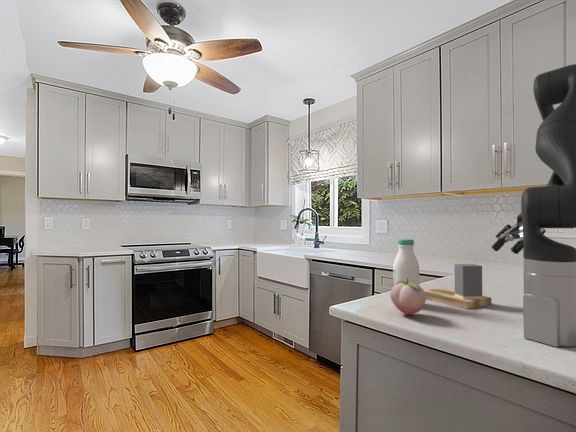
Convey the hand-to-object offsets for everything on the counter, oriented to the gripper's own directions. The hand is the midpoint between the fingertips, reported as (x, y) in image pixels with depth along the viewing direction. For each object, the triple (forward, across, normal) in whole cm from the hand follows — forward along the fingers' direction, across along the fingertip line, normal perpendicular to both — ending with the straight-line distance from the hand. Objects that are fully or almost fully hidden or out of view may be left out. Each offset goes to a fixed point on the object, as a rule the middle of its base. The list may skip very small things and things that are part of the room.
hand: (503, 250), depth 101 cm
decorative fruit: (+36, +11, -13) cm, 40 cm away
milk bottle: (+33, -1, -10) cm, 35 cm away
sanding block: (+18, 0, +2) cm, 18 cm away
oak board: (+21, -4, +2) cm, 22 cm away
